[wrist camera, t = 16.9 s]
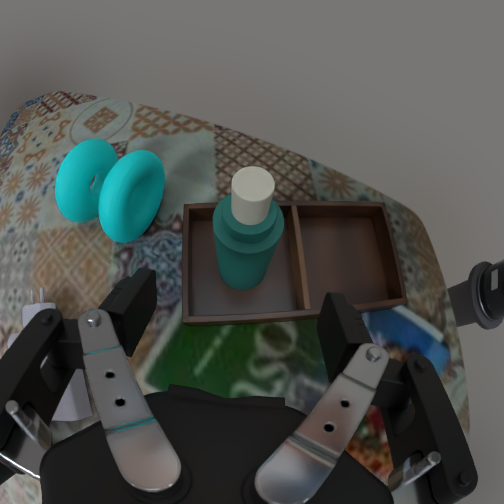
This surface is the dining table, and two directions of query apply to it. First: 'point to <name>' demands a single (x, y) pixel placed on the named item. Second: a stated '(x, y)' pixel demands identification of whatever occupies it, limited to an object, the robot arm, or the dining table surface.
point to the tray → (296, 265)
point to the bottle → (247, 228)
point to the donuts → (110, 188)
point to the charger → (75, 394)
